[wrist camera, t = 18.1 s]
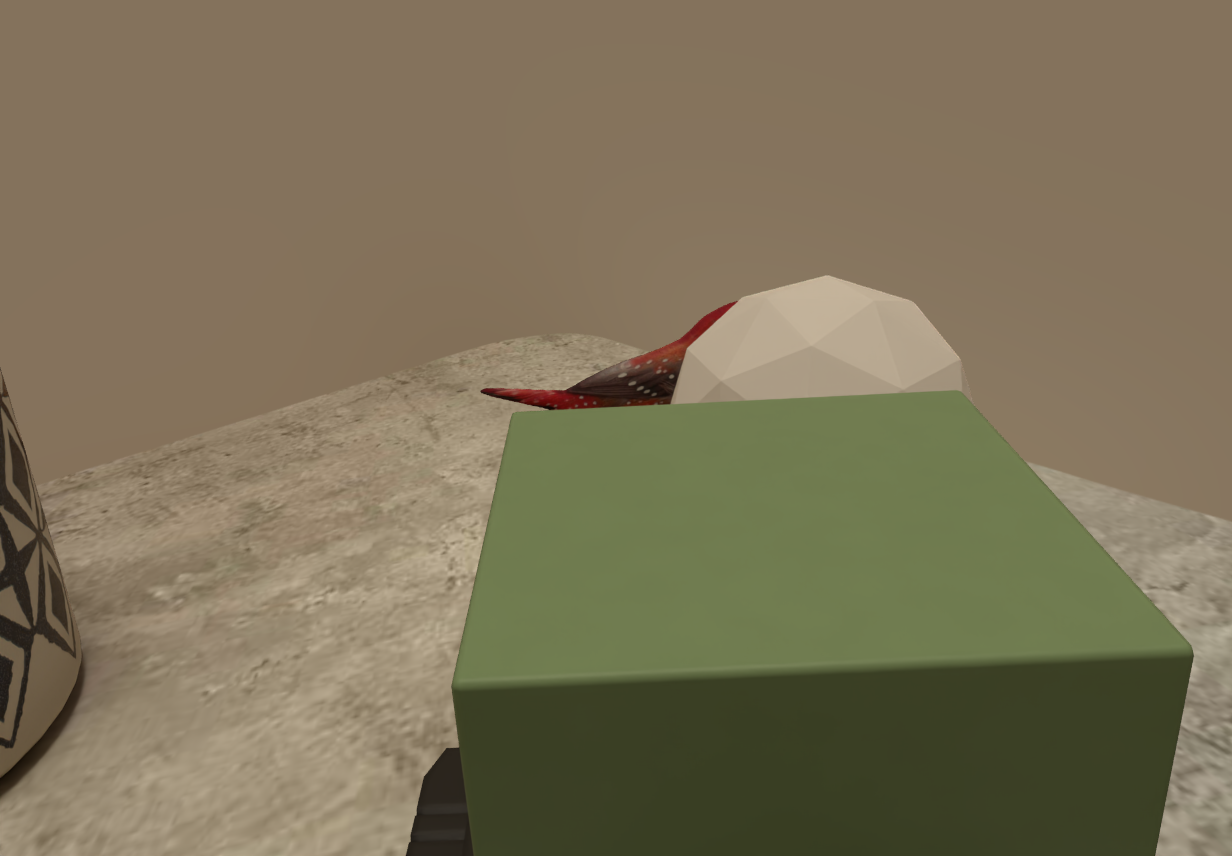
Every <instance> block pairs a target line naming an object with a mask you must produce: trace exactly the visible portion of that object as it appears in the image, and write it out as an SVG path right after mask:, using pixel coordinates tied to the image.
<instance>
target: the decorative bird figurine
mask: <svg viewBox="0 0 1232 856" xmlns="http://www.w3.org/2000/svg"><path fill="white" fill-rule="evenodd" d="M737 302H738V301H736V302H733V303H729V304H727V305H724V306H723V307H720V308H718V309H717V310H715V311H713V312H711V313H709V314H707V315H706V316H704V317H703V318H702V319H701V320H700V321H699V322H698V323H697V324H696V325H695V326H694V327H693V328H692V329H691V330H690V331H689V332H688V333H686V334H685V335H684V336H683V337H682V338H681V339H679V340H677V341H675V342H673V343H671V344H669V345H666V346H664V347H662V348H660V349H657V350H654V351H652V352H649V353H646V354H644V355H640V356H637V357H634V358H631V359H629V360H626V361H623V362H621V363H618V364H616V365H614V366H611V367H609V368H606V369H604V370H602V371H600V372H598V373H596V374H594V375H593V376H590V377H588V378H586V379H585V380H583V381H581V382H579V383H577V384H576V385H574V386H572V387H570V388H568V389H567V390H548V391H546V390H531V389H523V390H522V389H505V388H486V389H483V390H481V391H480V392H481V393H483V394H486V395H489V396H492V397H496V398H501V399H505V400H509V401H514V402H519V403H523V404H527V405H532V406H538V407H542V408H545V409H549V410H566V409H586V408H607V407H627V406H647V405H667V404H671V400H672V397H673V394H674V390H675V387H676V384H677V380H678V377H679V373H680V370H681V367H682V363H683V360H684V357H685V353H686V350H687V348H688V347H689V346H690V345H691V344H692V343H693V342H694V341H696V340H697V339H698V338H699V337H700V336H701V335H702V334H703V333H704V332H705V331H706V330H707V329H709V328H710V327H711V326H712V325H713V324H714V323H715V322H716V321H717V320H718V319H719V318H721V317H722V316H723V315H724V314H725V313H726V312H727V311H728V310H729V309H730V308H731V307H732V306H734V305H735V304H736V303H737Z"/></svg>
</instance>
